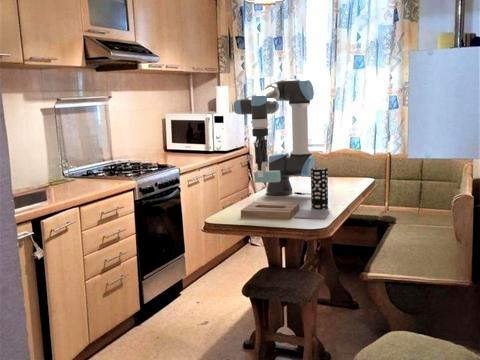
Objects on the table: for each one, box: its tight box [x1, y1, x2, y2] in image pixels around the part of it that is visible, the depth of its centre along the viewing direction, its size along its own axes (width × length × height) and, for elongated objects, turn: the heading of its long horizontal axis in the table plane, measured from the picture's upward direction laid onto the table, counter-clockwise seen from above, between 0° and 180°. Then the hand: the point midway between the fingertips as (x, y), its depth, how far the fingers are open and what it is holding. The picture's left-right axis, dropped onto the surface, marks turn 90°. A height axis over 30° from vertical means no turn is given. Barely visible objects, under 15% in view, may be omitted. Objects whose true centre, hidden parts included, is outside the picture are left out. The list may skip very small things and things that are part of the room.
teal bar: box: [253, 170, 281, 183], centre depth 248 cm, size 4×12×5 cm, turn 71°
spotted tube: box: [310, 166, 329, 211], centre depth 257 cm, size 8×8×20 cm
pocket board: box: [240, 201, 301, 220], centre depth 250 cm, size 20×24×4 cm
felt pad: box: [294, 209, 331, 220], centre depth 244 cm, size 14×14×1 cm
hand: (262, 176), depth 249 cm, fingers closed on teal bar, 4 cm apart
